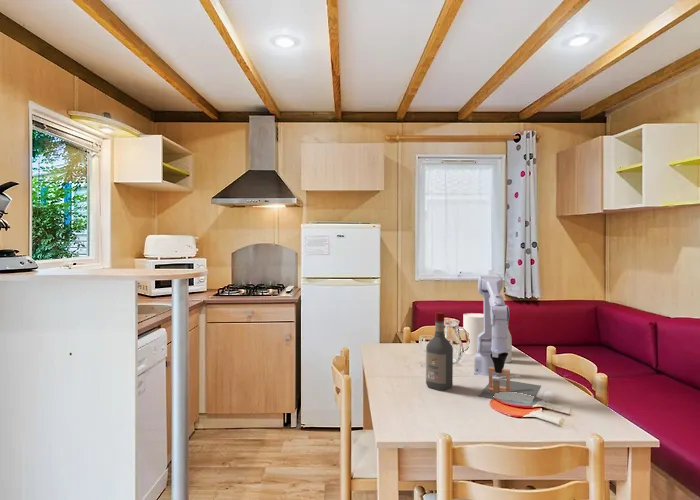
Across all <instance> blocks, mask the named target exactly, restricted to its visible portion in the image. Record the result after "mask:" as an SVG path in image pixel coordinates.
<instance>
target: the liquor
mask: <svg viewBox="0 0 700 500" xmlns="http://www.w3.org/2000/svg"><path fill="white" fill-rule="evenodd" d="M434 321H435V322H434V323H435V325H434V326H435V327H434V328H435V329H434V330H435V331H434V336H433V337H432V338H431V340H430V341H428V343H427V344H426V347H425V348H426V349H425V384H426V386H427V388H428V389H432V390H436V391H442V392H443V391H447V390H449V389H451V388H452V387H453V381H454V380H453V376H454V375H453V374H454V372H453V368H454V362H453V359H454V355H453V354H454V348H453V344H451V342H450V341H449V340H448V339H447V338H446V337H445V336H446V335H445V312H443V311H438V312H437V311H435V313H434Z"/></svg>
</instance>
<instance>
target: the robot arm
mask: <svg viewBox="0 0 700 500" xmlns="http://www.w3.org/2000/svg"><path fill="white" fill-rule="evenodd" d="M503 286H504V281H503V277H502V276H501V275H497V276H496V275H479V276H478V279H477V292H478V294H479V295H481V296H482V298H483V314H484V331H483V332H482V333H481V334H479V335H478V337H477V351H478V353H476V354H475V356H474V367H473V368H474V373H473V374H474V375H477V376H478V375H480V376H486V377H489V367H494V368H495V372H496V373H495V372H492V378H497V377H498V375H499V374H501V372H502V369H505V368H504V367H505V360H506V357H507V356H508V353H506V352H510V349H507V321H508V322H509V320H510V308H509V305H507V304H506V303H505V299H504V297H503V295H502V294H500V293H501V291H502V290H503ZM484 338H486V339H484Z"/></svg>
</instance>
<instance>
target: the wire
mask: <svg viewBox="0 0 700 500" xmlns="http://www.w3.org/2000/svg"><path fill="white" fill-rule="evenodd" d="M497 379H498V380H494V381H493V396H494V394H495V393H499V392H500V382H501V380H502V379H503V380H506V375H502V376H499V377H498V378H497ZM512 379H521V375H520V374H516V375H514V374H513V375H510V380H512Z"/></svg>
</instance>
